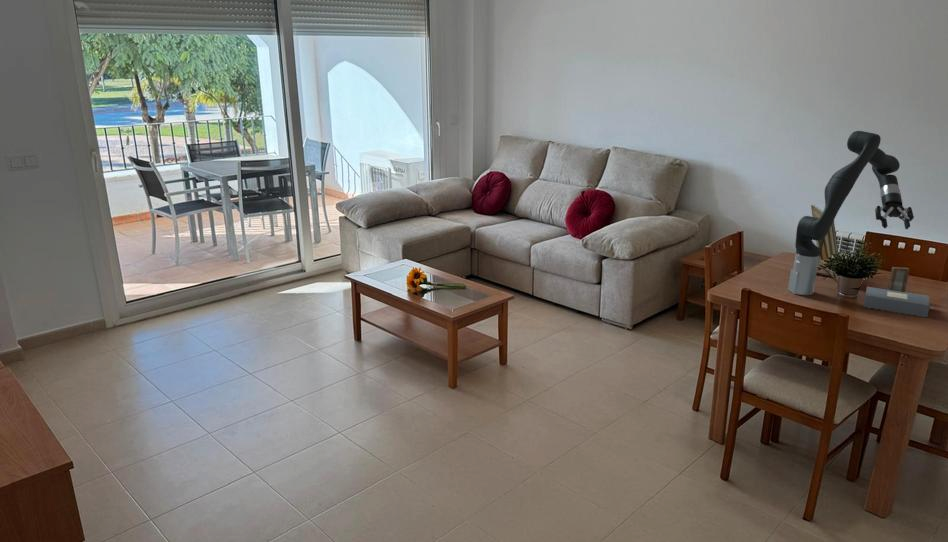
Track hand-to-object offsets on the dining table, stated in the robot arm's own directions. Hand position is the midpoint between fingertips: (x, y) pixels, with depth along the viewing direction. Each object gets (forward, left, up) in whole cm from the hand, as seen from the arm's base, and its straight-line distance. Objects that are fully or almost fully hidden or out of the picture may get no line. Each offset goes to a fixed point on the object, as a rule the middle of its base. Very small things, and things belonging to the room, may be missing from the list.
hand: (896, 227), depth 293 cm
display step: (-10, -24, -28) cm, 38 cm away
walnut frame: (-2, -11, -28) cm, 30 cm away
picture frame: (-18, +22, -28) cm, 40 cm away
